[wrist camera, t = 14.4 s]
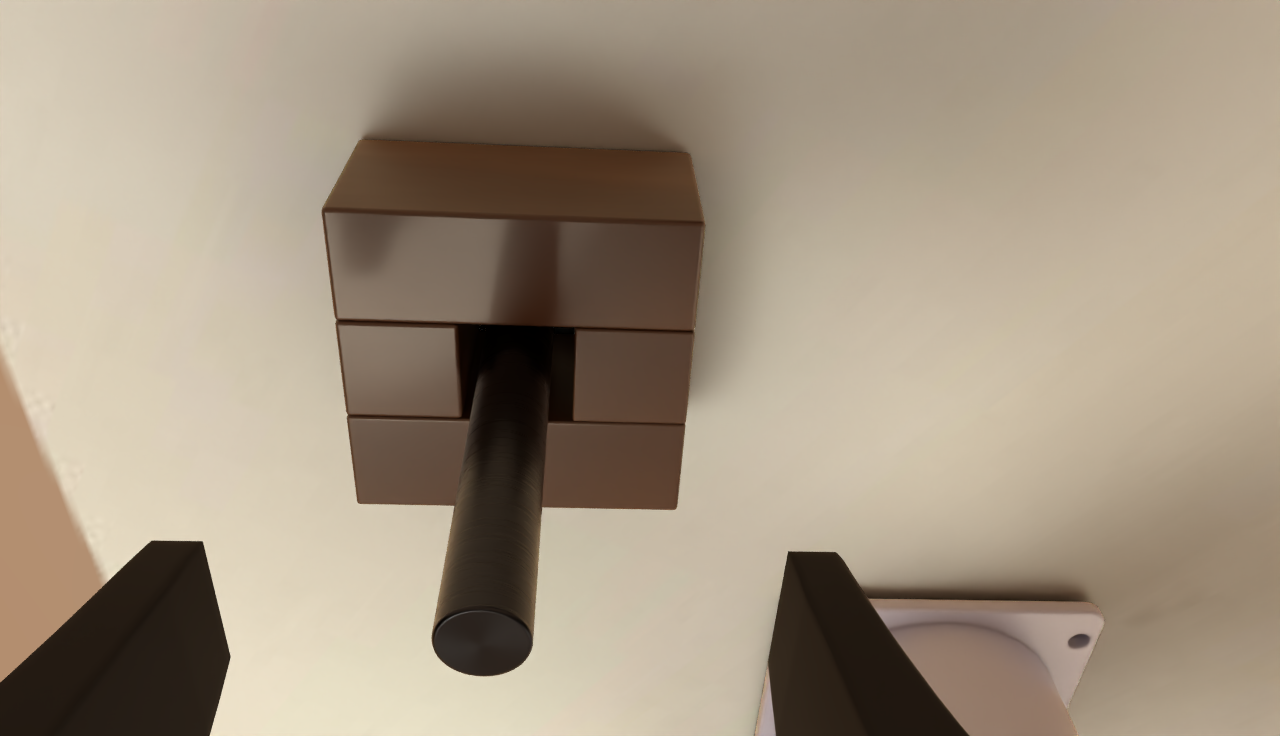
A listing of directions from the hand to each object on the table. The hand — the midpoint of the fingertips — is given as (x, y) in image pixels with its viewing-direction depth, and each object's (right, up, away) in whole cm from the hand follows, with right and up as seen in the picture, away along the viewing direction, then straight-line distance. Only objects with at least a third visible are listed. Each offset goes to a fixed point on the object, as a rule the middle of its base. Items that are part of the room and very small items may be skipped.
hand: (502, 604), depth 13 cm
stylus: (0, +5, +7) cm, 8 cm away
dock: (0, +5, +7) cm, 8 cm away
